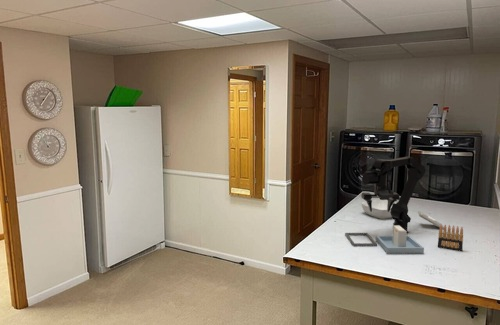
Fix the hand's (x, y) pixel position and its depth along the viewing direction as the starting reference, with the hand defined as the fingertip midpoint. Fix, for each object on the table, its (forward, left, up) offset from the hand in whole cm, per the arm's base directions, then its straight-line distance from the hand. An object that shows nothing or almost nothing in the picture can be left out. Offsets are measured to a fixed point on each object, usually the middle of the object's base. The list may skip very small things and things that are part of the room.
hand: (379, 211), depth 200 cm
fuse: (-4, +18, -12) cm, 22 cm away
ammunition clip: (-28, +20, -13) cm, 37 cm away
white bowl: (-14, -38, -13) cm, 43 cm away
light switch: (-34, -14, -13) cm, 39 cm away
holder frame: (+12, +8, -13) cm, 19 cm away
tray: (-4, +18, -13) cm, 23 cm away
